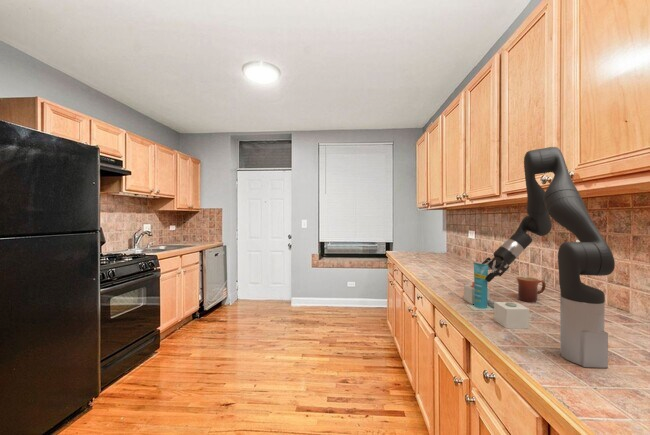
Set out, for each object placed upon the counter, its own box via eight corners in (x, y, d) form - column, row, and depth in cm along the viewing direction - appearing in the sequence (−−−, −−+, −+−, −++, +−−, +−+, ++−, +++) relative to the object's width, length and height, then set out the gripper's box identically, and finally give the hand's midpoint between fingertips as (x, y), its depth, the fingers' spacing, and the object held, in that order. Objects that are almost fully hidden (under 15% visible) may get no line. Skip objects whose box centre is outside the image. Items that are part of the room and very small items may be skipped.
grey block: (489, 304, 127) (489, 289, 127) (471, 304, 127) (471, 289, 127) (480, 299, 135) (480, 284, 135) (463, 299, 135) (463, 284, 135)
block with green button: (529, 328, 100) (529, 307, 100) (506, 328, 101) (506, 307, 101) (515, 320, 108) (515, 300, 108) (494, 319, 109) (494, 300, 109)
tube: (469, 305, 125) (469, 262, 125) (477, 303, 127) (477, 261, 127) (485, 310, 118) (485, 265, 118) (492, 308, 120) (492, 264, 120)
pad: (494, 310, 119) (494, 309, 119) (472, 310, 120) (472, 309, 120) (486, 305, 125) (486, 304, 125) (466, 305, 126) (466, 304, 126)
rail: (518, 320, 108) (518, 313, 108) (512, 320, 108) (512, 313, 108) (492, 304, 127) (492, 299, 127) (487, 304, 127) (487, 299, 127)
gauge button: (481, 292, 129) (481, 283, 129) (474, 292, 129) (474, 283, 129) (478, 290, 133) (478, 281, 132) (470, 290, 133) (470, 281, 133)
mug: (523, 303, 128) (523, 281, 128) (512, 297, 137) (512, 276, 137) (551, 303, 127) (551, 281, 127) (538, 298, 136) (538, 277, 136)
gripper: (493, 244, 129) (467, 269, 130) (512, 247, 115) (483, 275, 115) (504, 255, 129) (479, 280, 129) (525, 260, 115) (496, 288, 115)
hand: (481, 278), depth 122 cm, fingers open, 8 cm apart
